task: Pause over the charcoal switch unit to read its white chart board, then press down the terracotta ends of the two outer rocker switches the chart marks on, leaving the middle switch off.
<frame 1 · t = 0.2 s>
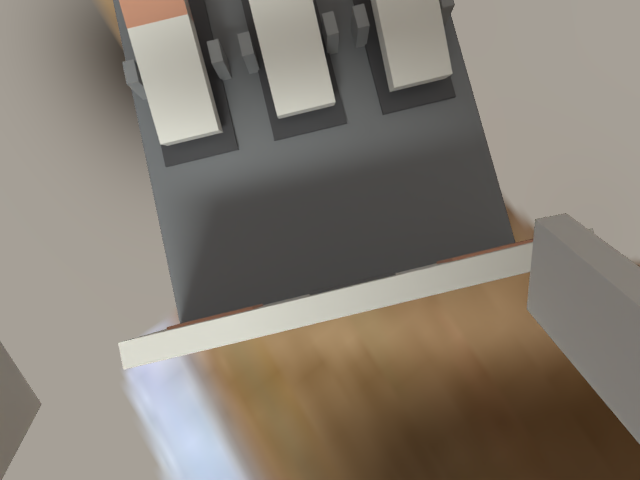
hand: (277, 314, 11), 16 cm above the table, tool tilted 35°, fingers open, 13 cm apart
switch 3: (170, 58, 23), point 5 cm above the table, hinge at -14.0°
switch 2: (287, 30, 23), point 5 cm above the table, hinge at -14.0°
switch unit: (303, 108, 28), on the table
switch 1: (404, 1, 23), point 5 cm above the table, hinge at -14.0°
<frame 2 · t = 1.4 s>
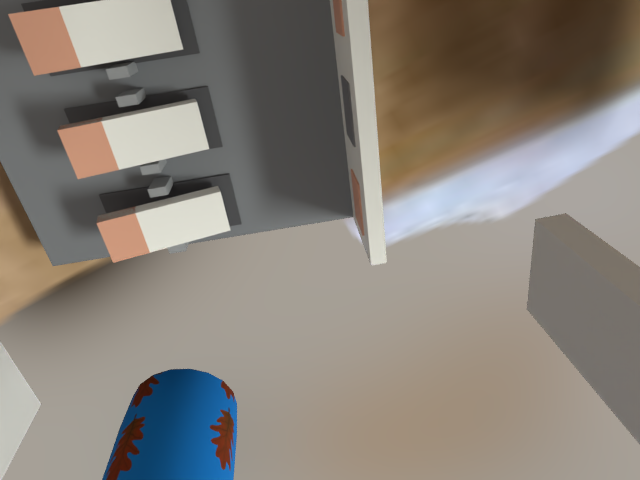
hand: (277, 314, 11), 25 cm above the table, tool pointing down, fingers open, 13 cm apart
switch 3: (166, 223, 31), point 5 cm above the table, hinge at -14.0°
switch 2: (137, 137, 28), point 5 cm above the table, hinge at -14.0°
thermos: (185, 404, 47), on the table
switch unit: (184, 112, 33), on the table
switch 1: (102, 32, 25), point 5 cm above the table, hinge at -14.0°
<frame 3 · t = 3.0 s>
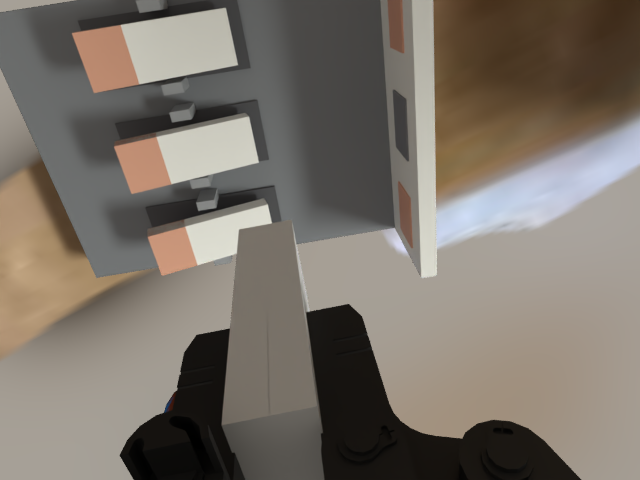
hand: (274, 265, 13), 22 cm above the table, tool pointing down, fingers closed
switch 3: (213, 236, 31), point 5 cm above the table, hinge at -14.0°
switch 2: (189, 152, 28), point 5 cm above the table, hinge at -14.0°
switch unit: (228, 125, 33), on the table
switch 1: (160, 49, 25), point 5 cm above the table, hinge at -14.0°
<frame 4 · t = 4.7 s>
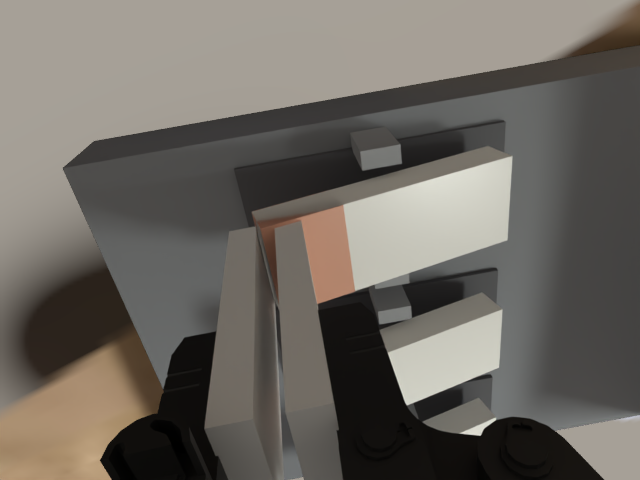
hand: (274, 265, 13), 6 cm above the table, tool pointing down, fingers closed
switch 3: (409, 463, 20), point 5 cm above the table, hinge at -14.0°
switch 2: (400, 365, 17), point 5 cm above the table, hinge at -14.0°
switch unit: (414, 278, 22), on the table
switch 1: (389, 227, 14), point 5 cm above the table, hinge at -13.4°, touching gripper
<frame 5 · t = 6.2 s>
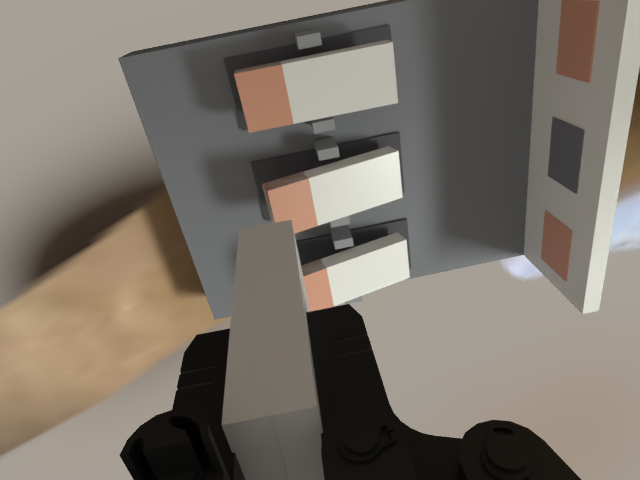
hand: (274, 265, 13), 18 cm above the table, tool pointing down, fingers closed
switch 3: (349, 274, 30), point 5 cm above the table, hinge at -14.0°
switch 2: (335, 191, 27), point 5 cm above the table, hinge at -14.0°
switch unit: (352, 155, 31), on the table
switch 1: (317, 86, 24), point 5 cm above the table, hinge at 0.9°
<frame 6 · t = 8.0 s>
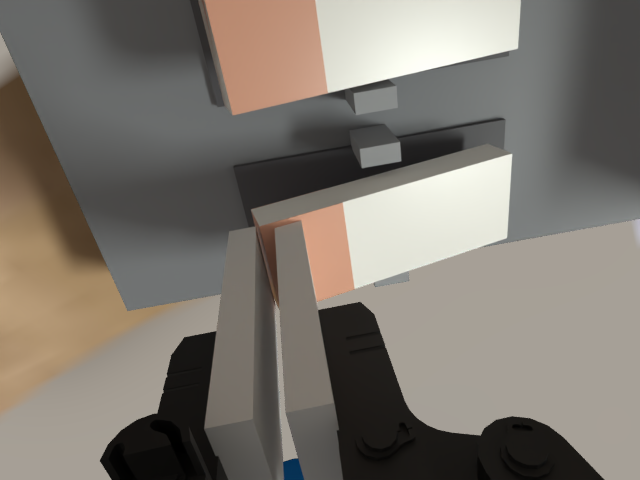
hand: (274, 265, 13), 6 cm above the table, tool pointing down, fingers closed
switch 3: (388, 224, 14), point 5 cm above the table, hinge at -13.4°, touching gripper
switch 2: (370, 14, 11), point 5 cm above the table, hinge at -14.0°
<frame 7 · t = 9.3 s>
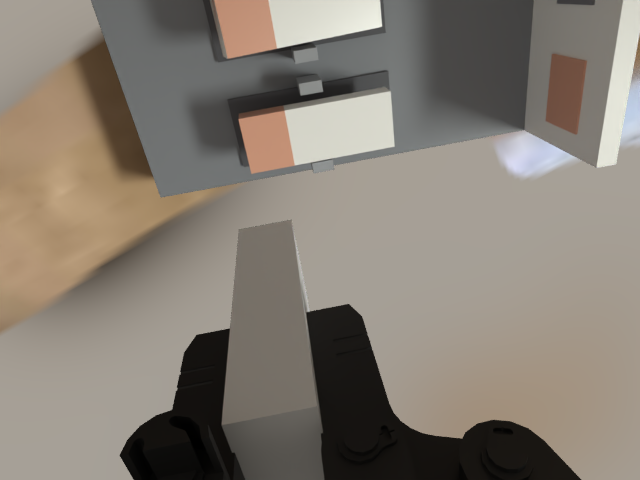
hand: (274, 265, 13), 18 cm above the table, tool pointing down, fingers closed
switch 3: (318, 130, 25), point 5 cm above the table, hinge at -0.6°
switch 2: (299, 7, 22), point 5 cm above the table, hinge at -14.0°
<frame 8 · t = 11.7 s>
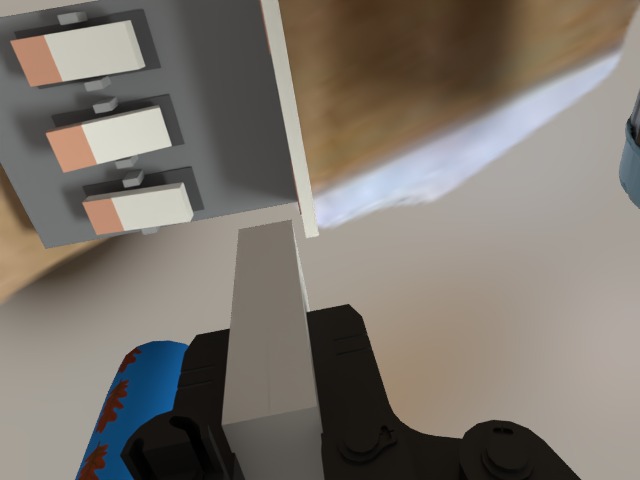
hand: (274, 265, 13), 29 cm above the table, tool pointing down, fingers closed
switch 3: (139, 208, 37), point 5 cm above the table, hinge at 5.8°
switch 2: (112, 138, 34), point 5 cm above the table, hinge at -14.0°
thermos: (167, 373, 53), on the table
switch unit: (152, 116, 39), on the table
switch 1: (79, 54, 31), point 5 cm above the table, hinge at 7.5°
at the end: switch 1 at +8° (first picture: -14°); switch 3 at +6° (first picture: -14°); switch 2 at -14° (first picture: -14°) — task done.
